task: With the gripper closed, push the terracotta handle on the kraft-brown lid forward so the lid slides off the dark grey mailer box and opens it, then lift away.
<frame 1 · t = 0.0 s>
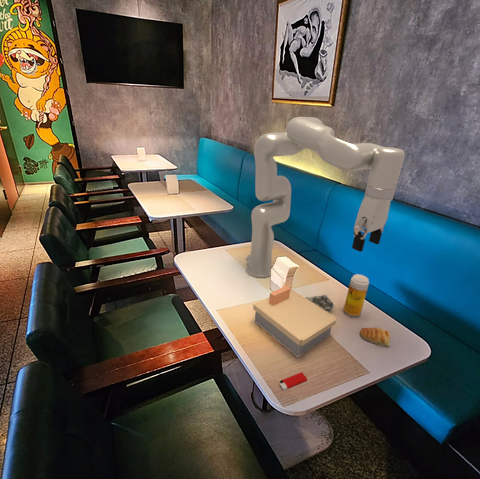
hand: (365, 246, 94), 31 cm above the table, tool pointing down, fingers open, 9 cm apart
beer can: (351, 312, 114), on the table
lighter: (291, 383, 84), on the table
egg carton: (317, 309, 115), on the table
mailer box: (291, 328, 103), on the table
pastry: (375, 340, 101), on the table
lid: (295, 308, 100), point 9 cm above the table, slide at 0.0 cm
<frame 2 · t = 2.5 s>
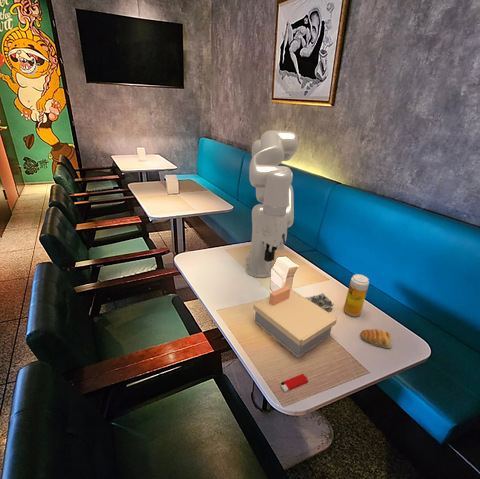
hand: (269, 260, 104), 20 cm above the table, tool pointing down, fingers closed
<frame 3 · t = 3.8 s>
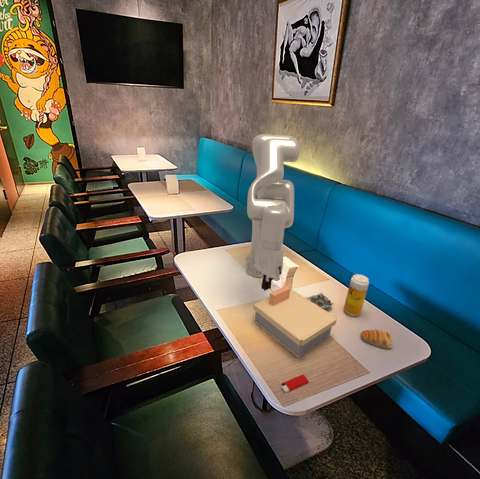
hand: (266, 288, 109), 9 cm above the table, tool pointing down, fingers closed
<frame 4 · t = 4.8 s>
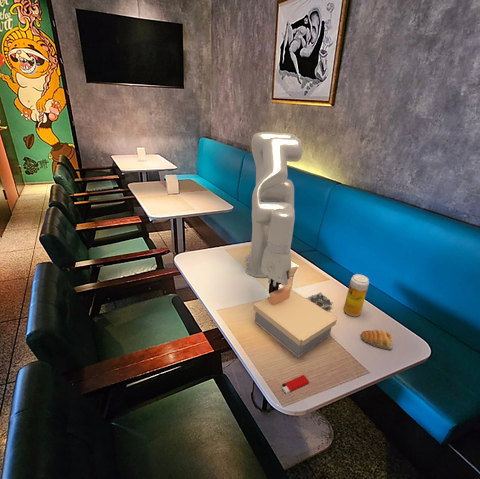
hand: (273, 293, 107), 9 cm above the table, tool pointing down, fingers closed
lid: (295, 308, 100), point 9 cm above the table, slide at 0.1 cm, touching gripper
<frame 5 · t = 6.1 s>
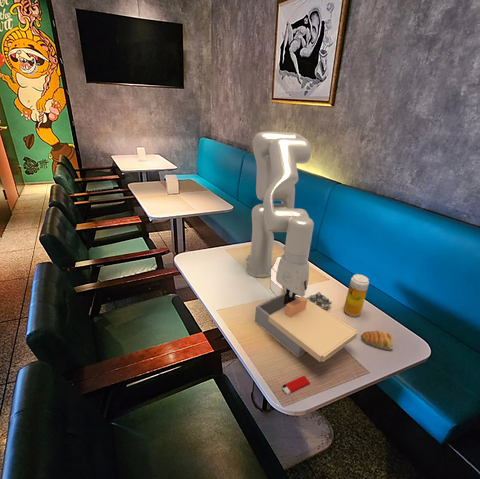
hand: (288, 303, 102), 9 cm above the table, tool pointing down, fingers closed
lid: (313, 321, 94), point 9 cm above the table, slide at 7.5 cm, touching gripper
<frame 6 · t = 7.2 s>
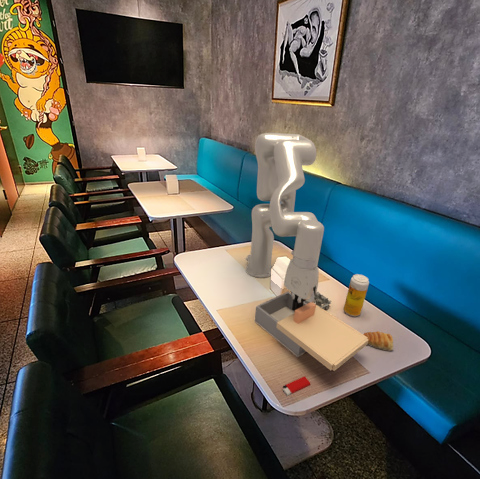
hand: (296, 309, 99), 9 cm above the table, tool pointing down, fingers closed
lid: (322, 327, 92), point 9 cm above the table, slide at 11.2 cm, touching gripper
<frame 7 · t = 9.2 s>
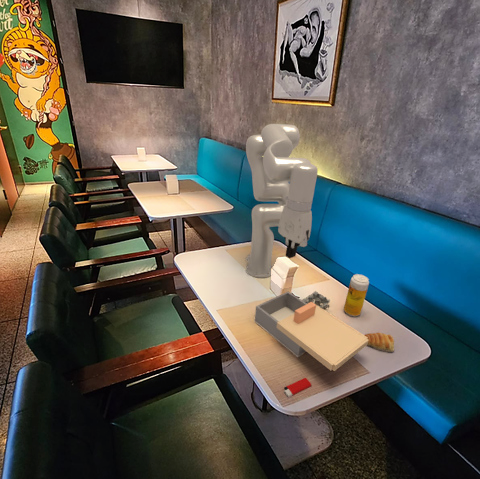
hand: (290, 256, 101), 24 cm above the table, tool pointing down, fingers closed
lid: (323, 328, 92), point 9 cm above the table, slide at 11.2 cm
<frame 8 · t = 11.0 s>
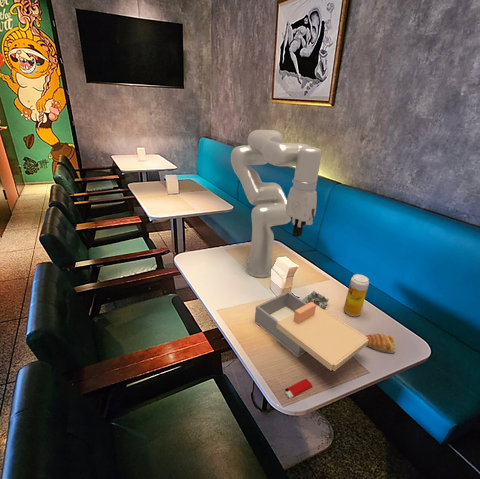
hand: (296, 235, 108), 27 cm above the table, tool pointing down, fingers closed
at the end: lid slide at 11.2 cm; lid touching nothing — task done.
